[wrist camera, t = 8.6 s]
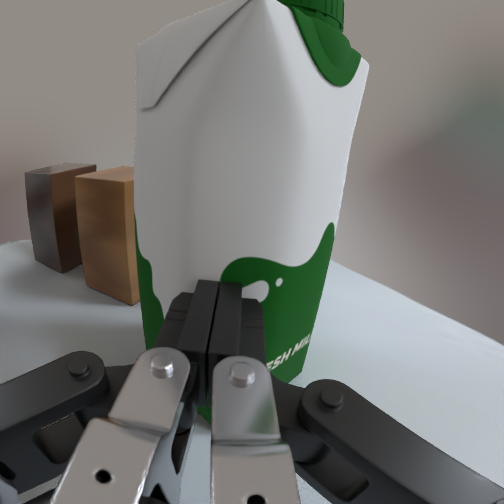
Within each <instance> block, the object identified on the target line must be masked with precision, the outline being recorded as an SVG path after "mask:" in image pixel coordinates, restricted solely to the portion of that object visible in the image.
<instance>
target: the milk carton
mask: <svg viewBox="0 0 504 504" xmlns="http://www.w3.org/2000/svg"><path fill="white" fill-rule="evenodd" d="M343 22H344V1H343V0H230V1H227V2H224V3H221V4H218V5H215V6H213V7H210V8H207V9H205V10H203V11H200V12H197V13H195V14H193V15H190V16H188V17H186V18H184V19H182V20H178V21H174V22H172V23H169V24H167V25H166V26H164V27H162V28H161V30H160V32H159V33H158V34H155V35H154V36H152V37H150V38H148V39H146V40H144V41H142V42H141V43H139V44H137V46H136V47H137V48H136V136H135V155H134V222H135V245H136V260H137V273H138V285H139V295H140V303H141V311H142V320H143V328H144V336H145V343H146V351H147V350H149V349H152V348H153V346H154V344H155V341H156V339H157V336H158V334H159V331H160V329H161V326H162V324H163V321H164V319H165V316H166V314H167V312H168V310H169V307H170V304H171V302H172V300H173V299H174V298H175V297H176V296H177V295H179V294H180V293H181V292H188V293H194V291H195V288H196V285H197V282H198V279H201V280H212V281H220V285H219V291H220V286H221V281H223V282H234V283H242V298H252V299H257V300H258V301H259V303H260V304H261V305H262V307H263V309H264V329H265V348H266V363H267V367H268V369H269V370H270V372H271V373H272V374H273V375H274V376H275V377H276V378H278V379H279V380H281V381H283V382H285V383H289V382H290V381H291V380H292V379H293V378H295V377H296V376H297V375H298V374H299V373H301V372H302V368H303V365H304V361H305V357H306V354H307V350H308V346H309V342H310V338H311V335H312V330H313V326H314V322H315V319H316V315H317V311H318V307H319V303H320V299H321V295H322V291H323V287H324V283H325V278H326V274H327V270H328V265H329V261H330V256H331V252H332V246H333V242H334V237H335V232H336V227H337V221H338V217H339V211H340V206H341V200H342V195H343V189H344V183H345V177H346V171H347V165H348V158H349V151H350V146H351V140H352V136H353V132H354V128H355V124H356V120H357V116H358V113H359V108H360V104H361V100H362V96H363V92H364V88H365V84H366V79H367V74H368V70H369V64H368V63H367V62H366V61H365V60H364V59H363V58H361V55H360V54H359V53H358V52H357V51H356V50H354V49H353V48H351V46H350V43H349V40H348V39H347V38H346V37H345V36H344V35H343V34H342V32H343ZM197 412H198V413H199V414H201V415H202V416H203V417H204V418H205V419H206V420H207V421H208V422H209V423H210V424H211V423H212V408H211V407H208V397H207V404H206V407H201V406H198V408H197Z"/></svg>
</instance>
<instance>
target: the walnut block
mask: <svg viewBox="0 0 504 504" xmlns="http://www.w3.org/2000/svg"><path fill="white" fill-rule="evenodd" d="M92 172H96V164H75V163H64V164H59V165H54V166H50V167H45V168H41V169H36V170H32V171H28V172H25V187H26V199H27V209H28V217H29V225H30V231H31V238H32V244H33V250H34V255H35V259H36V260H37V261H39V262H41V263H43V264H45V265H47V266H49V267H50V268H52V269H54V270H56V271H58V272H60V273H64V272H66V271H68V270H70V269H72V268H74V267H75V266H77V265H79V264H81V263H82V256H81V248H80V240H79V231H78V221H77V209H76V194H75V176H78V175H83V174H87V173H92Z"/></svg>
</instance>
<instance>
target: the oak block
mask: <svg viewBox="0 0 504 504" xmlns="http://www.w3.org/2000/svg"><path fill="white" fill-rule="evenodd" d="M75 194H76V209H77V221H78V231H79V240H80V248H81V256H82V263H83V269H84V275H85V281H86V285H87V286H89V287H91V288H94V289H96V290H98V291H100V292H102V293H104V294H107V295H109V296H111V297H113V298H116V299H118V300H120V301H123V302H125V303H127V304H130V305H134V304H136V303H137V302H138V301H139V300H140V295H139V285H138V273H137V260H136V245H135V222H134V167H124V166H121V167H116V168H111V169H106V170H101V171H96V172H92V173H87V174H83V175H78V176H75Z"/></svg>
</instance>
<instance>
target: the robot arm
mask: <svg viewBox="0 0 504 504" xmlns="http://www.w3.org/2000/svg"><path fill="white" fill-rule="evenodd" d="M219 285H220V281H212V280H201V279H198V282H197V285H196V288H195V291H194V293H188V292H181V293H180V294H179V295H177V296H176V297H175V298H174V299H173V300H172V302H171V304H170V307H169V310H168V312H167V314H166V316H165V319H164V321H163V324H162V326H161V329H160V331H159V334H158V336H157V339H156V341H155V344H154V346H153V348H152V349H149V350H147V351H145V352H143V353H142V354H141V355H140V356H139V357H138V358H137V360H136V362H135V364H132V365H127V366H112V367H105V366H104V363H103V361H102V359H101V358H100V357H99V356H97V355H96V354H94V353H91V352H87V351H77V352H73V353H70V354H68V355H65V356H63V357H61V358H59V359H57V360H54V361H52V362H50V363H48V364H45V365H43V366H41V367H39V368H37V369H34V370H32V371H30V372H28V373H25V374H23V375H21V376H19V377H16V378H14V379H12V380H9V381H7V382H5V383H3V384H0V504H21V502H20V500H19V499H18V494H21V493H23V492H25V491H27V490H30V489H32V488H34V487H36V486H38V485H41V484H43V483H45V482H47V481H49V480H51V479H53V478H55V477H57V476H59V475H61V474H62V476H61V478H60V480H59V483H58V485H57V487H56V488H54V489H51V490H49V491H47V492H45V493H43V494H42V495H40V496H38V497H36V498H34V499H32V500H30V501H28V502H26V503H24V504H179V500H180V492H181V479H182V474H183V470H184V466H185V462H186V458H187V454H188V451H189V447H190V443H191V439H192V435H193V431H194V426H195V425H194V422H195V419H196V414H197V408H198V406H201V407H206V404H207V397H208V407H211V408H212V423H211V468H210V489H211V504H301V502H300V496H299V491H298V486H297V480H296V475H295V472H296V473H297V474H298V475H299V476H300V477H301V478H302V479H304V480H305V481H306V482H307V483H308V484H309V485H310V486H311V487H313V488H314V489H315V490H316V491H317V492H319V493H320V494H321V495H322V496H323V497H324V498H326V499H327V500H328V501H329V502H331V503H332V504H504V488H503V487H501V486H499V485H497V484H496V483H494V482H492V481H490V480H489V479H487V478H485V477H483V476H482V475H480V474H478V473H477V472H475V471H473V470H472V469H470V468H468V467H467V466H465V465H464V464H462V463H460V462H459V461H457V460H455V459H454V458H452V457H451V456H449V455H448V454H446V453H444V452H443V451H441V450H440V449H438V448H437V447H435V446H434V445H432V444H430V443H429V442H427V441H426V440H424V439H423V438H421V437H420V436H418V435H417V434H415V433H414V432H412V431H411V430H409V429H408V428H406V427H405V426H403V425H402V424H401V423H399V422H398V421H396V420H395V419H393V418H392V417H390V416H389V415H388V414H386V413H385V412H383V411H382V410H380V409H379V408H378V407H376V406H375V405H373V404H372V403H371V402H369V401H368V400H366V399H365V398H364V397H362V396H361V395H359V394H358V393H357V392H355V391H354V390H353V389H351V388H350V387H348V386H347V385H345V384H344V383H341V382H339V381H336V380H330V379H322V380H317V381H314V382H312V383H310V384H309V385H308V386H307V387H306V388H302V387H298V386H294V385H291V384H288V383H285V382H283V381H281V380H279V379H278V378H276V377H275V376H274V375H273V374H272V373H271V372H270V370H269V369H268V367H267V363H266V348H265V329H264V309H263V307H262V305H261V304H260V303H259V301H258V300H257V299H252V298H242V283H234V282H223V281H221V286H220V291H219ZM72 413H74V414H72ZM70 414H72V415H70ZM68 415H70V416H68ZM66 416H68V417H66ZM64 417H66V418H64ZM62 418H64V419H62ZM60 419H62V420H60ZM58 420H60V421H58ZM56 421H58V422H56ZM54 422H56V423H54ZM52 423H54V424H52ZM50 424H52V425H50ZM48 425H50V426H48ZM45 426H48V427H46V428H43V427H45ZM41 428H43V429H41Z"/></svg>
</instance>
